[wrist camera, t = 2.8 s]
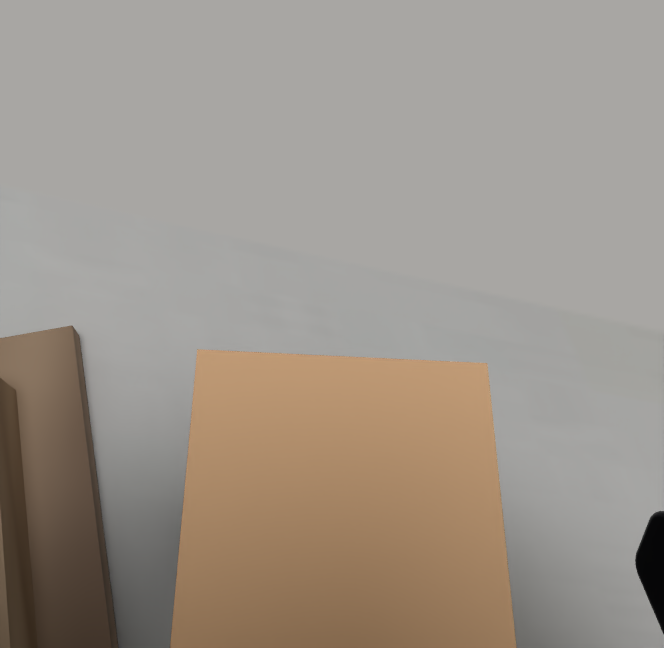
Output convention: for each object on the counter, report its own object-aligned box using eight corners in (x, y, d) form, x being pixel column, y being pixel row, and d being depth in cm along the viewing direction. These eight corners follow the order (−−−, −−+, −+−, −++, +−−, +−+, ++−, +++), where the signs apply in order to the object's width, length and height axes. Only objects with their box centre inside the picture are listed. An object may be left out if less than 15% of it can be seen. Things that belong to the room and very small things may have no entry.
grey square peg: (344, 615, 16) (520, 693, 6) (213, 616, 16) (165, 702, 5) (343, 484, 17) (487, 363, 7) (223, 482, 17) (197, 349, 7)
